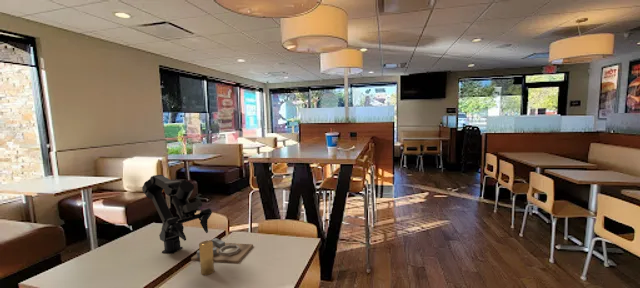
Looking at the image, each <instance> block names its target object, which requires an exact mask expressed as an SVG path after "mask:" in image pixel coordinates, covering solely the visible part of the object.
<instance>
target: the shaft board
mask: <svg viewBox="0 0 640 288" xmlns="http://www.w3.org/2000/svg"><path fill="white" fill-rule="evenodd" d="M210 241H212V242H213V258H214V263H215V262H216V263H229V264H230V263H231V264H240V262H241V260H243V258H244V257H246V255H247V254H248V252H249V251H251V249H252V248H253V247H254V244H253V243H236V242H234V243H232V242H230V243H229V242H225V241H224V240H221V239H219V238H217V237H215V238H213V239H211V240H210ZM190 261H199V262H200V251H199V249H198V250H197V251H196V254H194V255H193V256H192V257H190Z"/></svg>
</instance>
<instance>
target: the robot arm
mask: <svg viewBox="0 0 640 288" xmlns="http://www.w3.org/2000/svg"><path fill="white" fill-rule="evenodd" d="M141 188H142V189H141V190H142V193H143V194H144V195H145V197H146V198H147V199H150V200H152V203H153V204H154V208H155V209H156V211H157V213H158V216H159V217H160V220H161V221H162V222H161V223H162V225H161V231H160V233H159V239H160V241H162V242H163V246H164V249H163V250H161V253H163V254H171V255H173V254H175V253H177V252H179V251H180V250H182V249H183V248H184V247H183V246H181V240H180V239H182V240H183V241H184V242H185V241H187V236H186V235H185V232H184V226H183V224H184V223H189V222H190V221H194V220H199V223H200V226H201V227H202V229H203V230H204V232H205V233H206V234H208V233H209V225H208V220H209V219H210V217H211V216H212V214H213V211H212V209H211V208H210V207H207V208H204V209H201V210H200V212H199V213H197V210H199V209H200V208H201V207H203V203H202V200H201V199H195V200H194V201H193V202H190V200H189V199H190V197H191V195H192V193H193V192H194V189H195V185H194V184H193V183H192V182H191V181H188V180H186V179H182V180H172V179H169V178H167V177H165V176H164V175H163V174H156V175H155V174H154V175H152V176H150V178H149V179H148V180H146V181H145V182H144V183H143V185H142V187H141ZM163 191H164V194H165V195H166V196H168V197H170V196H172V199H171V204H172V205H174V208H175V210H176V215H178V216H179V217H178V216H173V214H172V212H171V210H170V208H169V206H168V203H167V202H166V199H165V198H164V195H163ZM196 213H197V214H196Z"/></svg>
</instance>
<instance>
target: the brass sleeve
mask: <svg viewBox="0 0 640 288" xmlns="http://www.w3.org/2000/svg"><path fill="white" fill-rule="evenodd" d="M198 250H199V251H200V261H199V263H200V266H199V267H200V274H201V276H209V275H211V274H213V273H214V272H215V262H214V258H213V242H212V241H211V240H210V239H209V240H207V239H206V240H202V241H200V242H199V244H198Z"/></svg>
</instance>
